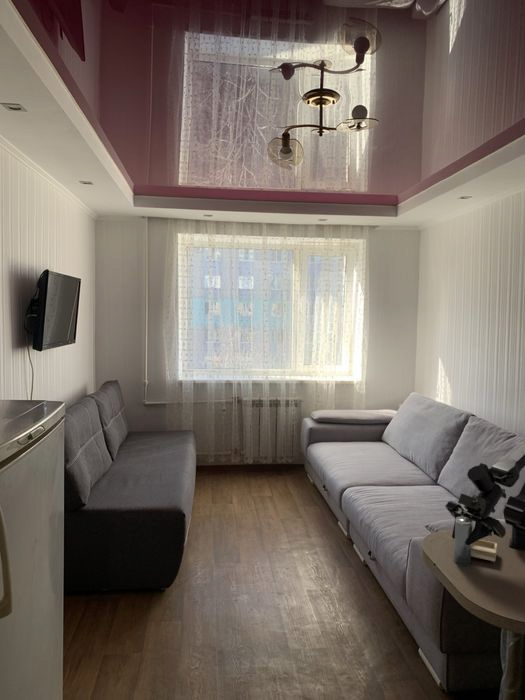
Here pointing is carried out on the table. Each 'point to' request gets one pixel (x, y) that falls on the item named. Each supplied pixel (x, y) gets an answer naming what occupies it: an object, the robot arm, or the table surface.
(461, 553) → the canister
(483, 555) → the square wooden tray
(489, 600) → the table surface
